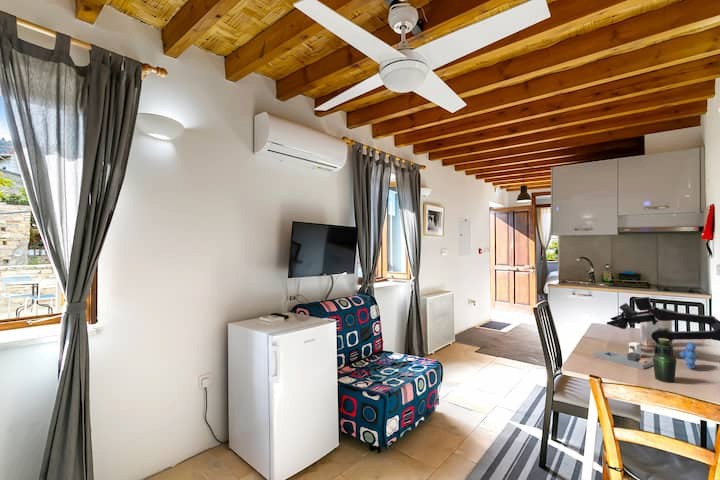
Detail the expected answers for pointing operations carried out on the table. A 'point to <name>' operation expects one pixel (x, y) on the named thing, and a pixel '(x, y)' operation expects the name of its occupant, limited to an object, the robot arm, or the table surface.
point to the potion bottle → (664, 362)
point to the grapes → (689, 355)
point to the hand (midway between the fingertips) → (608, 321)
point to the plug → (635, 348)
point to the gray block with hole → (625, 359)
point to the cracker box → (649, 328)
